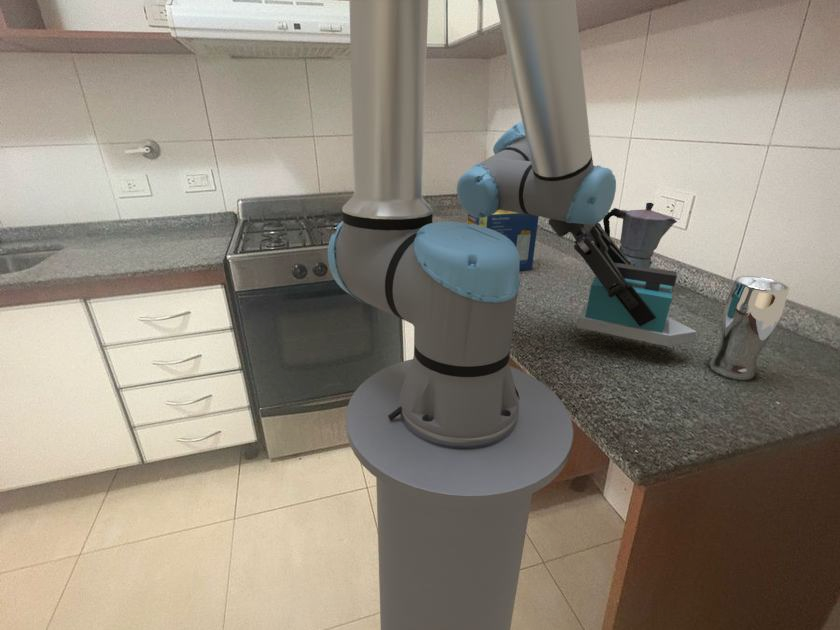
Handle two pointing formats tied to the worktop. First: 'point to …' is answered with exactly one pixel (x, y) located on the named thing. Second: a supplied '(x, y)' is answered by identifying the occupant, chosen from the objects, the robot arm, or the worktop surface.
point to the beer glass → (748, 325)
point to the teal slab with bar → (618, 321)
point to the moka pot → (640, 232)
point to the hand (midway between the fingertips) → (648, 313)
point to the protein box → (513, 232)
